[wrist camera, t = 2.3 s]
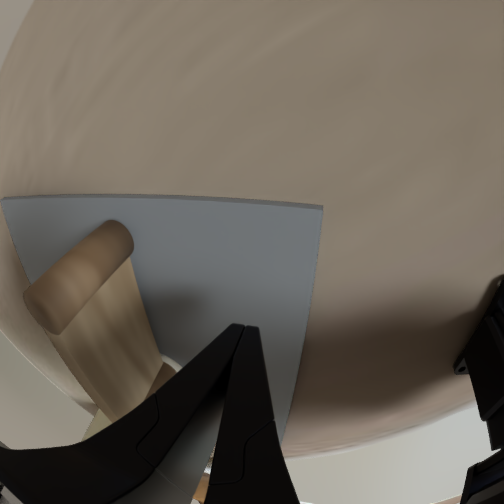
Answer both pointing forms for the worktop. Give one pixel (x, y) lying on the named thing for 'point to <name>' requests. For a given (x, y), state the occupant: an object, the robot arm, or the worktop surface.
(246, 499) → the robot arm
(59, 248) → the board
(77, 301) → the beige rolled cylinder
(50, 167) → the worktop surface
